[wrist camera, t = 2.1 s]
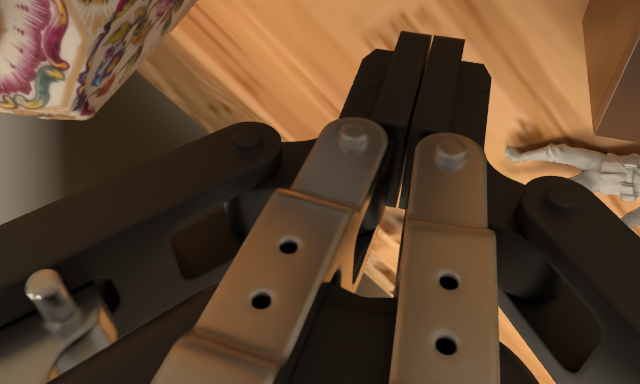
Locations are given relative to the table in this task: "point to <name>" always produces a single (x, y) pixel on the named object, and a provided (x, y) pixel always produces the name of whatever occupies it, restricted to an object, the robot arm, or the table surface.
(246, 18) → the table surface
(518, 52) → the table surface
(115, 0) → the decorative jar
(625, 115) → the box
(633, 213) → the soldier figure
